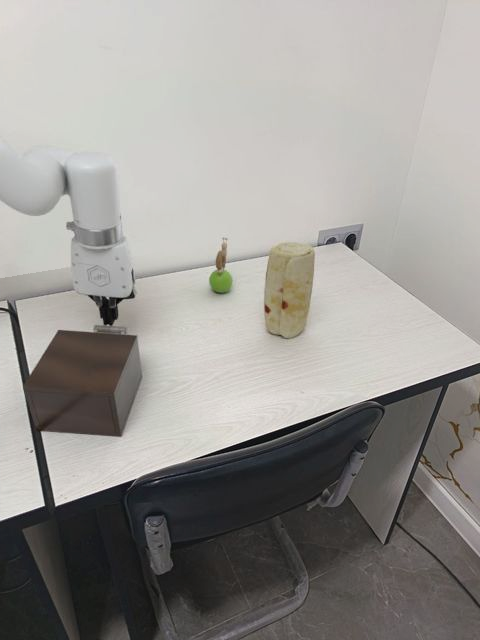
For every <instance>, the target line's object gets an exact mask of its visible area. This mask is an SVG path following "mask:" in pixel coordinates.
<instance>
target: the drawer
mask: <svg viewBox="0 0 480 640" xmlns="http://www.w3.org/2000/svg"><path fill="white" fill-rule="evenodd" d="M67 330H68V329H67ZM68 331H70V330H68ZM128 331H129V329H128V326H119V325H118V326H116V325H113V326H109V325H102V324H94V325H93V332H96V333H109V334H123V335H128V334H129V333H128Z"/></svg>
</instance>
